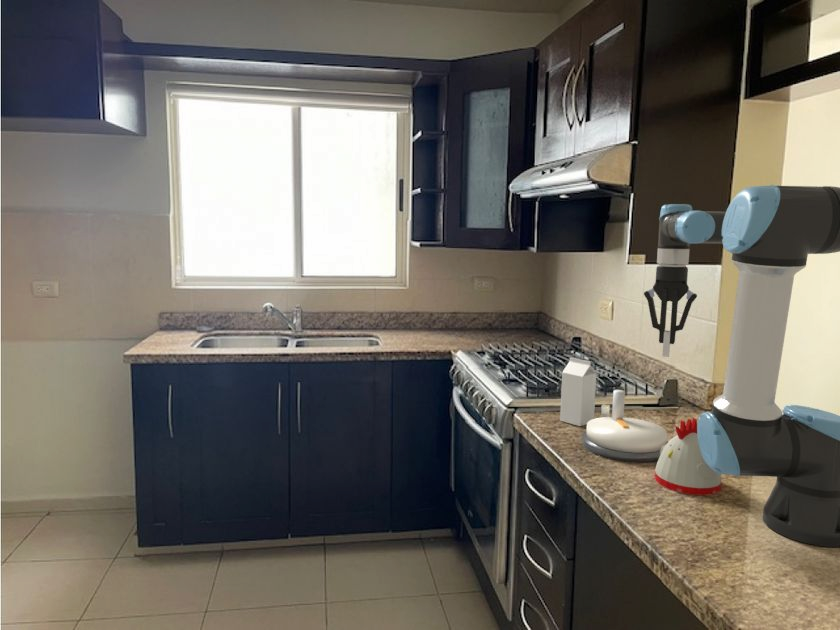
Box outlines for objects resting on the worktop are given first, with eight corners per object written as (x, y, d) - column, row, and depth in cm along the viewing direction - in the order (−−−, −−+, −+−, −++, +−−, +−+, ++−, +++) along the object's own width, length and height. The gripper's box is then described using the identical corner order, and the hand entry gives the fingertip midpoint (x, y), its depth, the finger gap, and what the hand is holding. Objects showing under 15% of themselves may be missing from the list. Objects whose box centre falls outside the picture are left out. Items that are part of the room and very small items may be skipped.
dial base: (665, 469, 147) (668, 440, 146) (573, 453, 157) (575, 426, 156) (673, 438, 170) (675, 413, 169) (592, 426, 179) (593, 402, 178)
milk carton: (580, 427, 178) (583, 363, 176) (559, 421, 183) (562, 358, 181) (593, 422, 183) (597, 359, 180) (573, 416, 188) (576, 355, 186)
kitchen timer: (641, 474, 144) (646, 412, 142) (688, 467, 149) (692, 407, 147) (685, 499, 131) (691, 431, 129) (735, 490, 136) (741, 425, 134)
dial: (678, 453, 152) (682, 410, 150) (597, 451, 152) (600, 408, 150) (650, 427, 171) (652, 389, 170) (578, 426, 172) (580, 388, 170)
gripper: (700, 265, 158) (693, 355, 161) (647, 263, 163) (641, 350, 167) (699, 267, 151) (692, 361, 154) (643, 265, 157) (637, 355, 160)
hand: (665, 355), depth 160 cm, fingers closed
